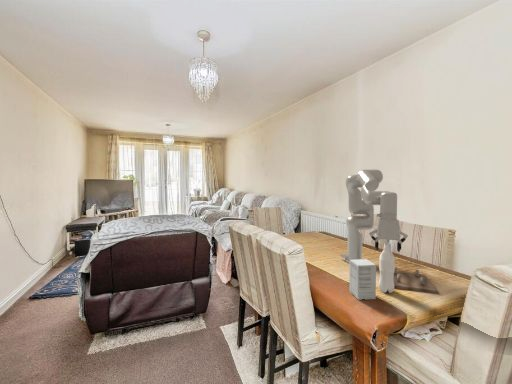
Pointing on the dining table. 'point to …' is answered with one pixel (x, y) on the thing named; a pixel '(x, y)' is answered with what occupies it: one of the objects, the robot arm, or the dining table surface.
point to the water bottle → (386, 269)
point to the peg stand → (413, 282)
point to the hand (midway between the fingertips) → (387, 250)
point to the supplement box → (362, 279)
